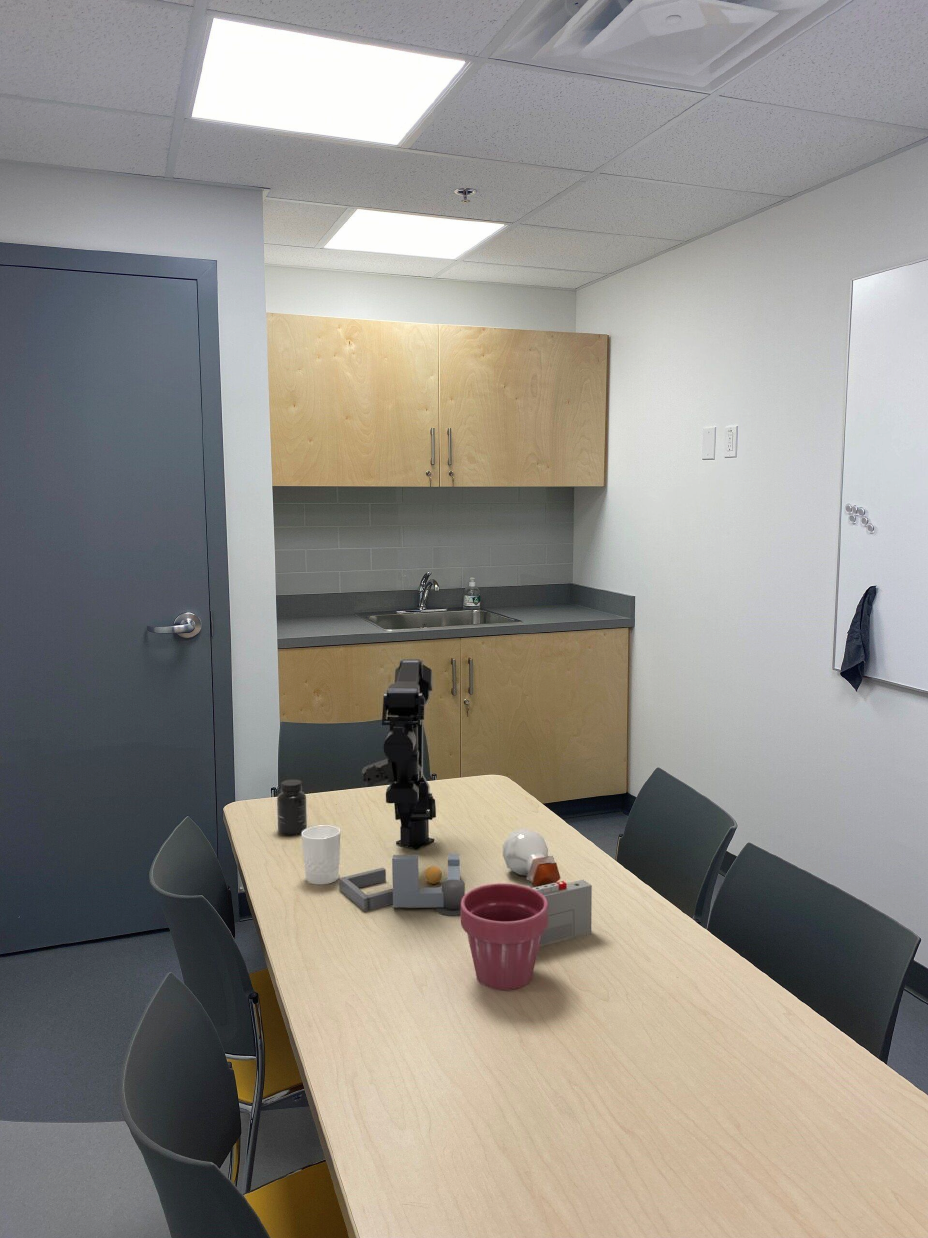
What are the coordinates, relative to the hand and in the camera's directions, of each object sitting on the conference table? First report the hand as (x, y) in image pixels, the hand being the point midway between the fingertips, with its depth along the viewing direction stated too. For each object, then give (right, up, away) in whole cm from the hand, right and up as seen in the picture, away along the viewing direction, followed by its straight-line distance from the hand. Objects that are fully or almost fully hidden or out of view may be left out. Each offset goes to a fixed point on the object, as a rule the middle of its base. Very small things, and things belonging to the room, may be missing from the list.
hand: (405, 823), depth 181 cm
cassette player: (+27, -15, -24) cm, 39 cm away
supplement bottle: (-29, -9, +30) cm, 42 cm away
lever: (+5, -12, -5) cm, 14 cm away
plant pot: (+19, -17, -37) cm, 44 cm away
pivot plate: (+10, -13, -12) cm, 20 cm away
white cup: (-17, -12, +3) cm, 21 cm away
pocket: (-6, -13, -5) cm, 15 cm away
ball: (+6, -10, -1) cm, 12 cm away
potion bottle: (+26, -12, +2) cm, 29 cm away
